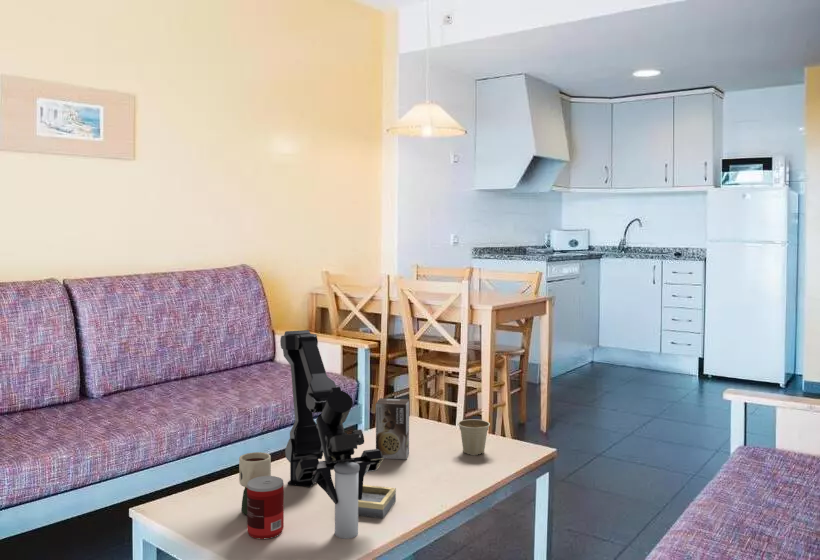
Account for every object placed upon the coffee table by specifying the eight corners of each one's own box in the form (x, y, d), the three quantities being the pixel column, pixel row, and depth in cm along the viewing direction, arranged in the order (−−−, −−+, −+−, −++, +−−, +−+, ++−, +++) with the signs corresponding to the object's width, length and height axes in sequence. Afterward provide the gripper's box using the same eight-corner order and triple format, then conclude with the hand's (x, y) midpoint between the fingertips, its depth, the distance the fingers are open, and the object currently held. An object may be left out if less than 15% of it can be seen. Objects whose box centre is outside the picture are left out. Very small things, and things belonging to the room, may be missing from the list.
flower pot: (452, 448, 211) (453, 420, 210) (481, 446, 213) (482, 418, 213) (464, 458, 202) (465, 428, 201) (494, 455, 204) (495, 426, 204)
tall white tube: (330, 537, 149) (330, 469, 148) (338, 526, 154) (339, 460, 153) (354, 540, 148) (354, 471, 147) (362, 529, 153) (362, 463, 152)
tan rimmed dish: (339, 513, 162) (339, 499, 162) (354, 496, 172) (354, 483, 172) (383, 518, 159) (383, 504, 159) (395, 501, 169) (395, 488, 169)
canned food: (286, 524, 156) (286, 475, 155) (280, 539, 148) (280, 488, 147) (251, 524, 155) (251, 475, 155) (243, 540, 147) (243, 488, 147)
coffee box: (409, 453, 206) (410, 398, 205) (406, 460, 200) (406, 404, 198) (379, 451, 207) (379, 397, 206) (374, 458, 201) (375, 402, 200)
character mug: (246, 502, 167) (245, 449, 166) (275, 503, 167) (275, 449, 166) (233, 521, 157) (233, 464, 156) (265, 522, 156) (265, 465, 155)
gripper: (299, 421, 149) (313, 490, 140) (380, 413, 157) (400, 477, 147) (289, 447, 157) (303, 514, 148) (367, 438, 164) (385, 501, 155)
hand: (348, 501), depth 149 cm, fingers closed on tall white tube, 5 cm apart
